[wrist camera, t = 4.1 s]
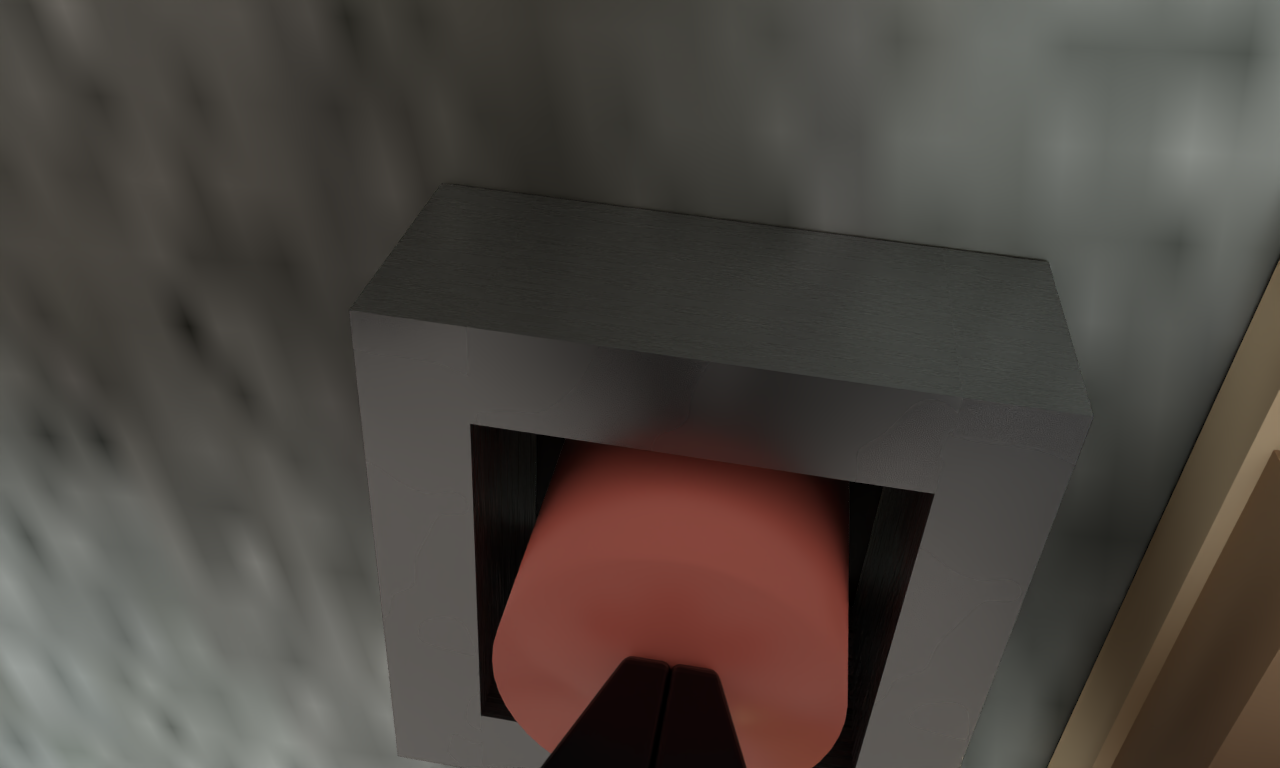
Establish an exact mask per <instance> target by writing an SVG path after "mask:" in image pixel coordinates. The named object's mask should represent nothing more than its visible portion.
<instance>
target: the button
mask: <svg viewBox="0 0 1280 768" xmlns="http://www.w3.org/2000/svg"><path fill="white" fill-rule="evenodd" d="M849 508H850V493H849V481H846V480H839V479H833V478H826V477H820V476H813V475H806V474H800V473H793V472H786V471H780V470H773V469H767V468H760V467H753V466H747V465H740V464H733V463H727V462H720V461H714V460H707V459H700V458H694V457H687V456H681V455H674V454H667V453H661V452H654V451H647V450H641V449H634V448H628V447H621V446H614V445H608V444H601V443H594V442H588V441H581V440H575V439H568V438H565V441H564V444H563V447H562V449H561V452H560V455H559V458H558V461H557V464H556V466H555V469H554V472H553V475H552V478H551V480H550V483H549V486H548V489H547V492H546V495H545V497H544V500H543V503H542V506H541V509H540V511H539V514H538V517H537V520H536V523H535V525H534V528H533V531H532V534H531V537H530V540H529V542H528V545H527V548H526V551H525V554H524V556H523V559H522V562H521V565H520V568H519V570H518V573H517V576H516V579H515V582H514V585H513V587H512V590H511V593H510V596H509V599H508V601H507V604H506V607H505V610H504V613H503V616H502V618H501V621H500V624H499V627H498V630H497V633H496V637H495V640H494V644H493V654H492V664H493V673H494V678H495V681H496V684H497V688H498V691H499V693H500V695H501V697H502V699H503V701H504V703H505V705H506V707H507V708H508V710H509V711H510V713H511V714H512V716H513V717H514V719H515V720H516V721H517V723H518V724H519V725H520V726H521V727H522V728H523V729H524V730H525V732H526V733H527V734H528V735H529V736H530V737H531V738H533V739H534V740H535V741H536V742H537V743H538V744H539V745H540V746H541V747H543V748H544V749H545V750H547V751H548V752H549V753H552V751H553V750H554V749H555V748H556V746H557V745H558V744H559V742H560V741H561V740H562V738H563V737H564V736H565V734H566V733H567V732H568V730H569V729H570V728H571V727H572V725H573V724H574V723H575V721H576V720H577V719H578V717H579V716H580V715H581V713H582V712H583V711H584V710H585V708H586V707H587V706H588V704H589V703H590V702H591V700H592V699H593V698H594V696H595V695H596V694H597V693H598V691H599V690H600V689H601V687H602V686H603V685H604V683H605V682H606V681H607V679H608V678H609V677H610V675H611V674H612V673H613V672H614V670H615V669H616V668H617V666H618V665H619V664H620V663H621V661H623V660H624V659H625V658H626V657H629V656H637V657H643V658H649V659H654V660H660V661H664V662H666V663H667V664H668V665H669V666H670V673H671V670H672V668H673V667H674V666H675V665H677V664H684V665H690V666H696V667H702V668H708V669H712V670H714V671H715V672H717V674H718V675H719V677H720V679H721V682H722V686H723V689H724V693H725V696H726V699H727V703H728V706H729V710H730V713H731V716H732V720H733V723H734V726H735V730H736V733H737V737H738V740H739V743H740V747H741V750H742V753H743V757H744V760H745V764H746V767H747V768H812V767H814V766H815V765H816V764H817V763H819V762H820V761H821V760H822V759H823V758H824V757H825V755H826V754H827V753H828V752H829V751H830V750H831V749H832V747H833V745H834V744H835V742H836V741H837V739H838V737H839V736H840V733H841V731H842V728H843V725H844V723H845V719H846V712H847V706H848V610H849Z"/></svg>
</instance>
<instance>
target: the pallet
mask: <svg viewBox="0 0 1280 768" xmlns="http://www.w3.org/2000/svg"><path fill="white" fill-rule="evenodd" d="M1047 768H1280V260H1279V262H1278V264H1277V266H1276V269H1275V271H1274V273H1273V275H1272V277H1271V280H1270V282H1269V284H1268V286H1267V288H1266V290H1265V293H1264V295H1263V297H1262V299H1261V301H1260V304H1259V306H1258V308H1257V310H1256V312H1255V315H1254V317H1253V319H1252V321H1251V323H1250V325H1249V328H1248V330H1247V332H1246V334H1245V336H1244V339H1243V341H1242V343H1241V345H1240V347H1239V350H1238V352H1237V354H1236V356H1235V358H1234V360H1233V363H1232V365H1231V367H1230V369H1229V371H1228V374H1227V376H1226V378H1225V380H1224V382H1223V385H1222V387H1221V389H1220V391H1219V393H1218V395H1217V398H1216V400H1215V402H1214V404H1213V406H1212V409H1211V411H1210V413H1209V415H1208V417H1207V419H1206V422H1205V424H1204V426H1203V428H1202V430H1201V433H1200V435H1199V437H1198V439H1197V441H1196V444H1195V446H1194V448H1193V450H1192V452H1191V454H1190V457H1189V459H1188V461H1187V463H1186V465H1185V468H1184V470H1183V472H1182V474H1181V476H1180V479H1179V481H1178V483H1177V485H1176V487H1175V489H1174V492H1173V494H1172V496H1171V498H1170V500H1169V503H1168V505H1167V507H1166V509H1165V511H1164V514H1163V516H1162V518H1161V520H1160V522H1159V524H1158V527H1157V529H1156V531H1155V533H1154V535H1153V538H1152V540H1151V542H1150V544H1149V546H1148V549H1147V551H1146V553H1145V555H1144V557H1143V559H1142V562H1141V564H1140V566H1139V568H1138V570H1137V573H1136V575H1135V577H1134V579H1133V581H1132V584H1131V586H1130V588H1129V590H1128V592H1127V594H1126V597H1125V599H1124V601H1123V603H1122V605H1121V608H1120V610H1119V612H1118V614H1117V616H1116V619H1115V621H1114V623H1113V625H1112V627H1111V629H1110V632H1109V634H1108V636H1107V638H1106V640H1105V643H1104V645H1103V647H1102V649H1101V651H1100V654H1099V656H1098V658H1097V660H1096V662H1095V664H1094V667H1093V669H1092V671H1091V673H1090V675H1089V678H1088V680H1087V682H1086V684H1085V686H1084V689H1083V691H1082V693H1081V695H1080V697H1079V699H1078V702H1077V704H1076V706H1075V708H1074V710H1073V713H1072V715H1071V717H1070V719H1069V721H1068V724H1067V726H1066V728H1065V730H1064V732H1063V734H1062V737H1061V739H1060V741H1059V743H1058V745H1057V748H1056V750H1055V752H1054V754H1053V756H1052V758H1051V761H1050V763H1049V765H1048V767H1047Z"/></svg>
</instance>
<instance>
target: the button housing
mask: <svg viewBox="0 0 1280 768" xmlns="http://www.w3.org/2000/svg"><path fill="white" fill-rule="evenodd" d="M349 315H350V324H351V333H352V342H353V351H354V360H355V369H356V379H357V388H358V397H359V406H360V415H361V424H362V433H363V442H364V451H365V460H366V470H367V479H368V488H369V497H370V506H371V515H372V524H373V533H374V542H375V551H376V561H377V570H378V579H379V588H380V597H381V606H382V615H383V624H384V633H385V642H386V652H387V661H388V670H389V679H390V688H391V697H392V706H393V715H394V724H395V733H396V743H397V752H398V756H400V757H406V758H411V759H417V760H422V761H428V762H433V763H439V764H444V765H450V766H455V767H461V768H540V767H541V766H542V765H543V763H544V762H545V761H546V759H547V758H548V757H549V755H550V754H551V753H549V752H548V751H547V750H545V749H544V748H543V747H541V746H540V745H539V744H538V743H537V742H536V741H535V740H534V739H533V738H531V737H530V736H529V735H528V734H527V733H526V732H525V730H524V729H523V728H522V727H521V726H520V725H519V724H518V723H517V721H516V720H515V719H514V717H513V716H512V714H511V713H510V711H509V710H508V708H507V707H506V705H505V703H504V701H503V699H502V697H501V695H500V693H499V691H498V688H497V684H496V681H495V678H494V673H493V664H492V654H493V644H494V640H495V637H496V633H497V630H498V627H499V624H500V621H501V618H502V616H503V613H504V610H505V607H506V604H507V601H508V599H509V596H510V593H511V590H512V587H513V585H514V582H515V579H516V576H517V573H518V570H519V568H520V565H521V562H522V559H523V556H524V554H525V551H526V548H527V545H528V542H529V540H530V537H531V534H532V531H533V528H534V525H535V523H536V460H537V434H541V435H548V436H555V437H561V438H568V439H575V440H581V441H588V442H594V443H601V444H608V445H614V446H621V447H628V448H634V449H641V450H647V451H654V452H661V453H667V454H674V455H681V456H687V457H694V458H700V459H707V460H714V461H720V462H727V463H733V464H740V465H747V466H753V467H760V468H767V469H773V470H780V471H786V472H793V473H800V474H806V475H813V476H820V477H826V478H833V479H839V480H846V481H853V482H859V483H866V484H873V485H879V486H883V488H882V492H881V496H880V500H879V504H878V508H877V512H876V516H875V520H874V524H873V528H872V532H871V536H870V540H869V544H868V548H867V552H866V556H865V560H864V564H863V568H862V572H861V575H860V579H859V583H858V587H857V591H856V595H855V599H854V603H853V607H851V606H849V610H848V706H847V712H846V719H845V723H844V725H843V728H842V731H841V733H840V736H839V737H838V739H837V741H836V742H835V744H834V745H833V747H832V749H831V750H830V751H829V752H828V753H827V754H826V755H825V757H824V758H823V759H822V760H821V761H820V762H819V763H817V764H816V765H815V766H814V767H812V768H960V766H961V764H962V761H963V759H964V756H965V753H966V751H967V748H968V745H969V743H970V740H971V737H972V735H973V732H974V730H975V727H976V724H977V722H978V719H979V716H980V714H981V711H982V709H983V706H984V703H985V701H986V698H987V695H988V693H989V690H990V688H991V685H992V682H993V680H994V677H995V674H996V672H997V669H998V667H999V664H1000V661H1001V659H1002V656H1003V653H1004V651H1005V648H1006V646H1007V643H1008V640H1009V638H1010V635H1011V632H1012V630H1013V627H1014V625H1015V622H1016V619H1017V617H1018V614H1019V611H1020V609H1021V606H1022V604H1023V601H1024V598H1025V596H1026V593H1027V590H1028V588H1029V585H1030V583H1031V580H1032V577H1033V575H1034V572H1035V569H1036V567H1037V564H1038V562H1039V559H1040V556H1041V554H1042V551H1043V548H1044V546H1045V543H1046V541H1047V538H1048V535H1049V533H1050V530H1051V527H1052V525H1053V522H1054V520H1055V517H1056V514H1057V512H1058V509H1059V506H1060V504H1061V501H1062V499H1063V496H1064V493H1065V491H1066V488H1067V485H1068V483H1069V480H1070V478H1071V475H1072V472H1073V470H1074V467H1075V464H1076V462H1077V459H1078V457H1079V454H1080V451H1081V449H1082V446H1083V443H1084V441H1085V438H1086V436H1087V433H1088V430H1089V428H1090V425H1091V422H1092V420H1093V417H1094V415H1093V412H1092V408H1091V405H1090V402H1089V398H1088V395H1087V391H1086V388H1085V385H1084V381H1083V378H1082V374H1081V371H1080V368H1079V364H1078V361H1077V357H1076V354H1075V351H1074V347H1073V344H1072V340H1071V337H1070V334H1069V330H1068V327H1067V323H1066V320H1065V317H1064V313H1063V310H1062V306H1061V303H1060V300H1059V296H1058V293H1057V289H1056V286H1055V283H1054V279H1053V276H1052V272H1051V269H1050V265H1049V262H1045V261H1037V260H1030V259H1022V258H1014V257H1007V256H999V255H991V254H983V253H976V252H968V251H960V250H953V249H945V248H937V247H929V246H922V245H914V244H906V243H899V242H891V241H883V240H875V239H868V238H860V237H852V236H845V235H837V234H829V233H821V232H814V231H806V230H798V229H791V228H783V227H775V226H767V225H760V224H752V223H744V222H737V221H729V220H721V219H714V218H706V217H698V216H690V215H683V214H675V213H667V212H660V211H652V210H644V209H636V208H629V207H621V206H613V205H606V204H598V203H590V202H582V201H575V200H567V199H559V198H552V197H544V196H536V195H528V194H521V193H513V192H505V191H498V190H490V189H482V188H474V187H467V186H459V185H451V184H444V183H442V184H441V185H440V187H439V188H438V189H437V191H436V192H435V193H434V195H433V196H432V198H431V199H430V200H429V202H428V203H427V204H426V206H425V207H424V208H423V210H422V211H421V213H420V214H419V215H418V217H417V218H416V219H415V221H414V222H413V224H412V225H411V226H410V228H409V229H408V230H407V232H406V233H405V234H404V236H403V237H402V239H401V240H400V241H399V243H398V244H397V245H396V247H395V248H394V249H393V251H392V252H391V254H390V255H389V256H388V258H387V259H386V260H385V262H384V263H383V265H382V266H381V267H380V269H379V270H378V271H377V273H376V274H375V275H374V277H373V278H372V280H371V281H370V282H369V284H368V285H367V286H366V288H365V289H364V290H363V292H362V293H361V295H360V296H359V297H358V299H357V300H356V301H355V303H354V304H353V305H352V307H351V308H350V310H349Z"/></svg>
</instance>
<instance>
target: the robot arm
mask: <svg viewBox="0 0 1280 768" xmlns="http://www.w3.org/2000/svg"><path fill="white" fill-rule="evenodd" d="M540 768H747V767H746V764H745V760H744V757H743V753H742V750H741V747H740V743H739V740H738V737H737V733H736V730H735V726H734V723H733V720H732V716H731V713H730V710H729V706H728V703H727V699H726V696H725V693H724V689H723V686H722V682H721V679H720V677H719V675H718V674H717V672H715V671H714V670H712V669H708V668H702V667H696V666H690V665H684V664H677V665H675V666H674V667H673V668H672V670H671V673H670V666H669V665H668V664H667V663H666V662H664V661H660V660H654V659H649V658H643V657H637V656H629V657H626V658H625V659H624V660H623V661H621V663H620V664H619V665H618V666H617V668H616V669H615V670H614V672H613V673H612V674H611V675H610V677H609V678H608V679H607V681H606V682H605V683H604V685H603V686H602V687H601V689H600V690H599V691H598V693H597V694H596V695H595V696H594V698H593V699H592V700H591V702H590V703H589V704H588V706H587V707H586V708H585V710H584V711H583V712H582V713H581V715H580V716H579V717H578V719H577V720H576V721H575V723H574V724H573V725H572V727H571V728H570V729H569V730H568V732H567V733H566V734H565V736H564V737H563V738H562V740H561V741H560V742H559V744H558V745H557V746H556V748H555V749H554V750H553V751H552V753H551V754H550V755H549V757H548V758H547V759H546V761H545V762H544V763H543V765H542V766H541V767H540Z"/></svg>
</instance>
